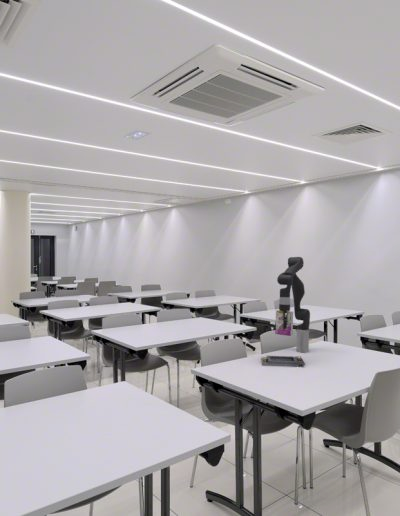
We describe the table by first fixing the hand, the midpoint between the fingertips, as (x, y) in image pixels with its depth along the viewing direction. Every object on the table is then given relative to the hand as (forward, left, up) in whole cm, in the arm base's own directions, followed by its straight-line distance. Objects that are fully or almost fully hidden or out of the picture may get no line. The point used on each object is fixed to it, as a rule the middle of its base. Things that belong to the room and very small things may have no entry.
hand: (284, 327), depth 271 cm
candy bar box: (0, 0, -5) cm, 5 cm away
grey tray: (+1, -1, -24) cm, 25 cm away
